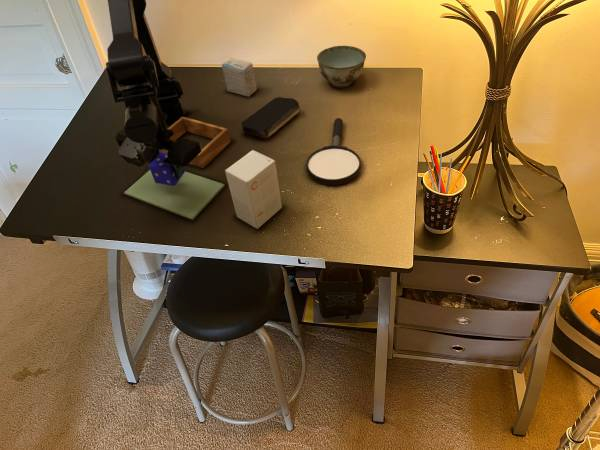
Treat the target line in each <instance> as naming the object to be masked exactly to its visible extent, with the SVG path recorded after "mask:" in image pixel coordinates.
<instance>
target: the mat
mask: <svg viewBox="0 0 600 450" xmlns="http://www.w3.org/2000/svg"><path fill="white" fill-rule="evenodd" d="M225 187H226V185H225V184H224V183H222V182H218V181H215V180H212V179H209V178H206V177H203V176H200V175H197V174H194V173H192V172H188V171H185V173H184V174H183V175H182V177H181V178H180V180H179V181H178V182H177V184H176V185H175V186H171V185H165V184H159V183H155V181H154V178H153V176H152V173H151V171H150V169H149V170H148V171H147V172H145V173H144V174H143V175H142V176H141V177H140V178H139V179H137V180H136V181H135V182H134V183H133V184H132V185H131V186H130V187H129V188H127V189H126V190H125V191H124V192H123V194H124V195H125V196H128V197H131V198H134V199H136V200H139V201H141V202H144V203H147V204H149V205H151V206H153V207H157V208H160V209H162V210H165V211H168V212H170V213H173V214H175V215H178V216H181V217H183V218H186V219H189V220H191V221H193V220H194V219H195V218H196V217H197V216H198V215H199V214H200V213H201V212H202V211H203V210H204V209H205V208H206V207H207V205H208V204H209V203H210V202H212V201H213V199H214V198H215V197H216V196H217V195H218V194H219V193H220V192H221V191H222V190H223V189H224V188H225Z"/></svg>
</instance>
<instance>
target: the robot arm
mask: <svg viewBox="0 0 600 450" xmlns="http://www.w3.org/2000/svg"><path fill="white" fill-rule="evenodd" d="M107 5H108V11H109V12H108V13H109V20H110V27H111V32H112V41H111V42H110V44H109V45H108V47H107V50H106V52H107V61H106V62H105V67H106V73H107V76H108V80H109V84H110V89H111V92H112V96H113V100H114V104H115V103H116V104H117V103H122V102H123V103H124V106H125V113H124V114H125V115H124V125H123V128H122V129H121V130H119V131H118V132H117V133H116V137H115V140H116V143H117V145H118V146H119V148H118V149H117V154H118V156H120V157H121V158H122V159H123V160H124V161H125V162H126V163H127V164H132V165H134V166H136V167H144V165H146V163H148V164H149V165H150V164H151V162H152V161H153V160H154V159H155V157H156V156H157V155H158V154H159V150H160V151H163V150H164V149H165V150H168V154H167V158H166V159H165V160H164V161H163V162H165V163H168V164H170V166H171V168H172V171H173V173H174V175H175V176H176V178H177V179H179V178H180V177H181V174H182V170H183V168H184V167H187V166H188V165H190V164H189V163H190V162H191V161H192V160H193V159H194V158H195V157H196V156H197V155H198V154H199V153H200V152H201V150H202V148H201V145H200V142H199V141H196V140H194V139H193V140H192V139H189V138H186V137H182V136H181V137H180V138H179V139H177V140H176V141H173V140H170V137H171V136H173V135H174V133H173V130H169V129H168V127H167V124H168V125H170V126H171V125H173V124H174V123H175V122H176V121H177V120H179V119H180V118H181V117H186V115H187V114H188V111H187V110H183V107H182V104H181V101H180V100H179V99H182V96H183V95H184V91H183V88H182V85H181V83H180V81H179V80H178V79H177V77H176V76H175V75H173V73H172V70H171V68H170V67H169V66H168V65H166V64H165V63H164V62H163V61H162V60H161V57H160V54H159V51H158V49H157V48H158V47H157V45H156V42H155V40H154V36H153V34H152V30H151V28H150V24H149V22H148V19H147V16H146V13H145V11H146V8H147V0H107ZM118 87H120V88H123V87H126V88H125V89H119V88H118Z"/></svg>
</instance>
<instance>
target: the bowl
mask: <svg viewBox="0 0 600 450" xmlns="http://www.w3.org/2000/svg"><path fill="white" fill-rule="evenodd" d="M366 59H367V54H366V52H365V51H364V50H362V49H361V48H358V47H356V46H352V45H334V46H330V47H328V48H325V49H323V50H321V51H320V52H318V54H317V56H316V61H317V63H318V69H319V71H320V74H321V76H322V77H323V78H324V79H325V81H327V82H329V84H331V85H332V86H333V87H335V88H346V87H349V86H351V85H352V83H353V82H354V81H356V80H357V79H359V77H360V76H361V74H362V72H363V69H364V66H365V61H366Z"/></svg>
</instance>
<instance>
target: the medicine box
mask: <svg viewBox="0 0 600 450" xmlns="http://www.w3.org/2000/svg"><path fill="white" fill-rule="evenodd" d="M221 68H222V72H223V73H222V74H223V77H224V83H225V87H226V92H228V93H232V94H235V95H240V96H243V97H248V98H249V97H250V96H251V95H252V94H254V93H255V92H257V89H258V87H257V81H256V77H255V72H254V71H255V70H254V66H253V63H252V62H251V61H246V60H242V59H238V58H233V57H230V58H229V59H227V60H225V61H224V62H223V63H222V64H221Z"/></svg>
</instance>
